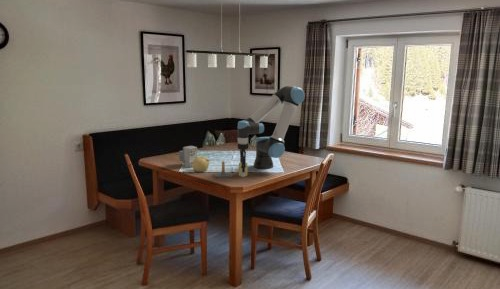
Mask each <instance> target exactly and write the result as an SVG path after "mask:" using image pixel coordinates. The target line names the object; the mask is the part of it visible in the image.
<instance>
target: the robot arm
mask: <svg viewBox="0 0 500 289" xmlns="http://www.w3.org/2000/svg"><path fill="white" fill-rule="evenodd" d="M305 95H306V94H305V92H304V89H302V88H301V87H298V86H289V85H286V86H283V87H281V88H279V89H278V90H277V91H276V92H275V93H273V94H272V95H271V98H270V99H269V100H267V101H266V102H265V103H264V104H262V105H261V106H260V107H259V108H258V109H257V110H256V111H255V112H253V113H252V114H251V115H250V116H248V118H247V119H242V120H239V121H238V122H237V138H236V140H237V149H238V150H239V156H240V157H239V158H240V159H239V163H242V167H241V176H240V177H241V178H243V177H246V176H245V167H246V163H247V162H246V160H247V159H246V158H247V150H249V135H258V134H263V133H264V132H265V125H264V124H263V122H261V121H262V120H263V119H264V118H265V117H266V116H268V115H269V114H270V113H271V112H272V111H273V110H275V109H276V108H277V107H278V106H281V105H282V104H283V106H282V110H281V112H280V114H279V117H278V120H277V123H276V125H275V128H274V131H273V133H272V135H270V136H260V137H256V138H255V159H254V162H253V167H254V168H255V169H260V170H261V169H262V170H266V169H268V170H269V169H272V168H274V161H273V159H274V158H275V159H279V158H281V157H282V156H283V155H284V153H285V151H286V148H285V140H284V139H285V137H286V133H287V132H288V129H289V125H290V123H291V120H292V118H293V115H294V113H295V109H298V108H299V105H300V104H302V103H303V102H304V101H305V98H306V97H305Z"/></svg>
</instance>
